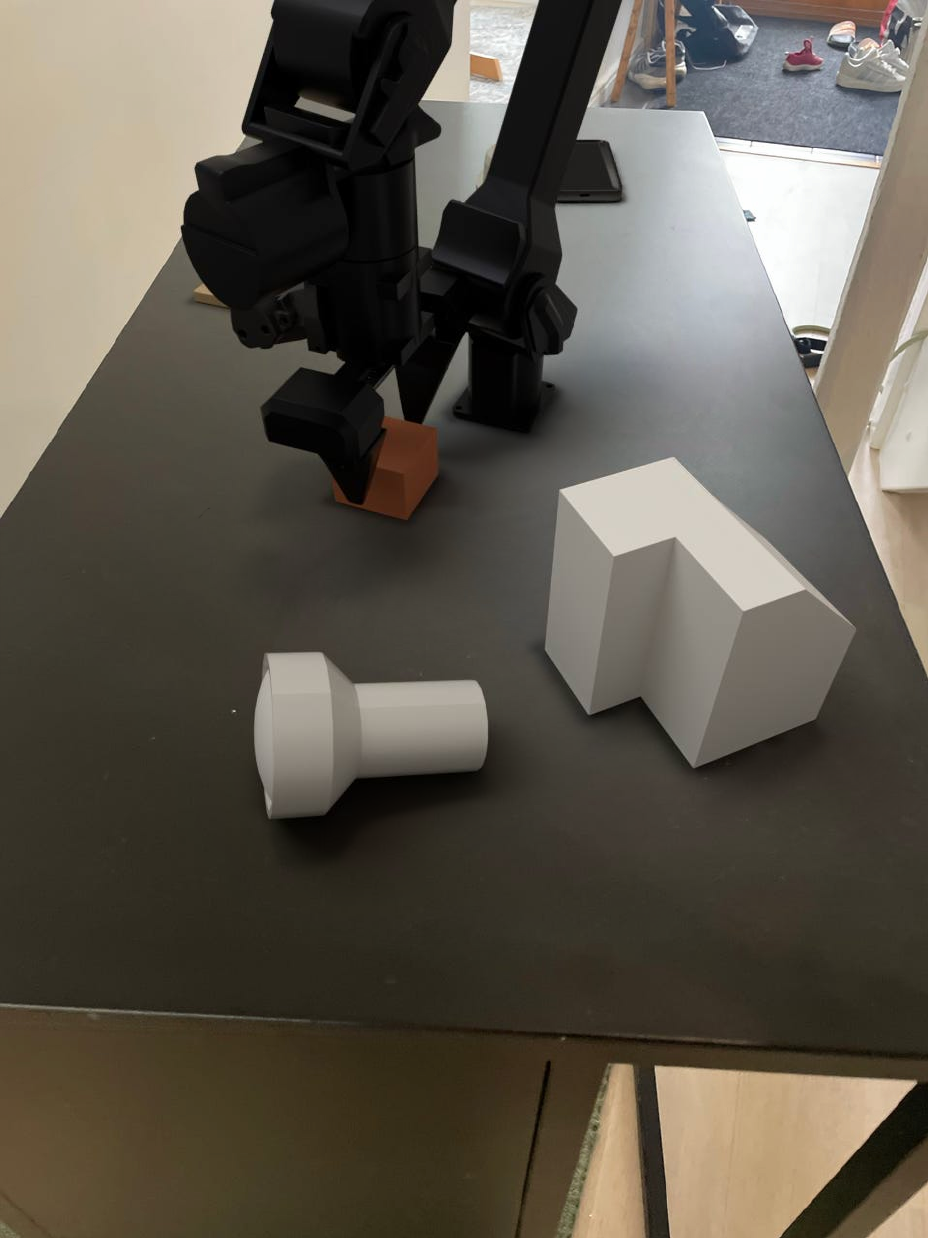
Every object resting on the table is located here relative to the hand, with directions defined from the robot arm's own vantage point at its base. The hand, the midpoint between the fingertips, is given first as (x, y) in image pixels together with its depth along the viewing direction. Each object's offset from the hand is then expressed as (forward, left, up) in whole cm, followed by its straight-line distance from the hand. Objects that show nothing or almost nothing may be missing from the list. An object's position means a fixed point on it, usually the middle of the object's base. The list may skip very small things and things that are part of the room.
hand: (386, 462), depth 63 cm
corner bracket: (-10, -23, -2) cm, 25 cm away
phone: (+59, +4, -2) cm, 59 cm away
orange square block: (0, 0, -2) cm, 2 cm away
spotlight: (-22, -9, -2) cm, 24 cm away
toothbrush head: (+38, +6, -2) cm, 38 cm away
